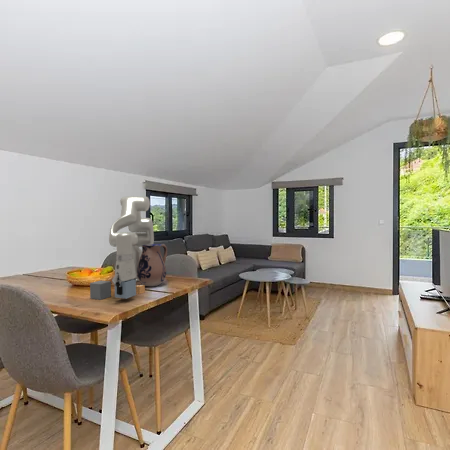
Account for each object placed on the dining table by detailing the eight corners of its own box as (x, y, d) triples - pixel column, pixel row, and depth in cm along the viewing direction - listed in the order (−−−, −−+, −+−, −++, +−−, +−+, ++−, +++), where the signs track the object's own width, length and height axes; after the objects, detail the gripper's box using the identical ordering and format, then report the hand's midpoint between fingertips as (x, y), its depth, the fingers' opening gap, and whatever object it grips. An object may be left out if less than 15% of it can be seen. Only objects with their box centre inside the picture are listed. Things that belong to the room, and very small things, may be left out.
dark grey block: (101, 295, 167) (101, 280, 166) (111, 296, 163) (110, 281, 163) (90, 298, 160) (89, 283, 160) (100, 299, 157) (100, 284, 157)
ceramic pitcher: (130, 286, 186) (130, 245, 186) (154, 280, 205) (153, 242, 204) (153, 289, 178) (152, 246, 177) (175, 282, 197) (174, 243, 196)
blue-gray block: (125, 293, 160) (124, 278, 160) (136, 295, 157) (135, 279, 157) (114, 297, 154) (114, 281, 154) (125, 298, 151) (125, 282, 151)
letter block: (139, 291, 174) (139, 284, 173) (144, 292, 172) (144, 285, 172) (134, 293, 170) (134, 285, 170) (139, 294, 168) (139, 286, 168)
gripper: (117, 260, 146) (118, 297, 146) (142, 256, 161) (142, 289, 162) (105, 259, 149) (106, 296, 149) (131, 255, 165) (131, 288, 165)
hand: (125, 292), depth 155 cm, fingers closed on blue-gray block, 7 cm apart
